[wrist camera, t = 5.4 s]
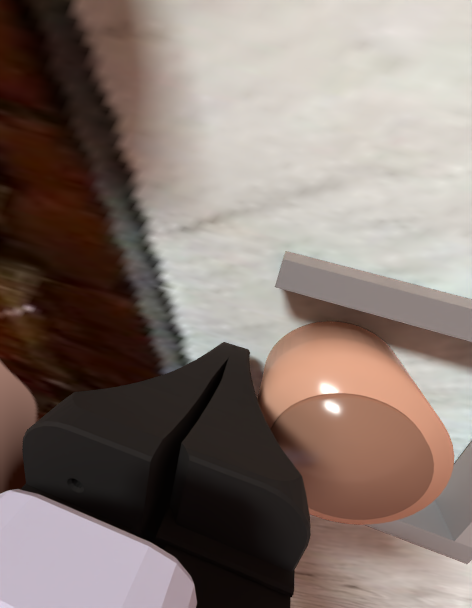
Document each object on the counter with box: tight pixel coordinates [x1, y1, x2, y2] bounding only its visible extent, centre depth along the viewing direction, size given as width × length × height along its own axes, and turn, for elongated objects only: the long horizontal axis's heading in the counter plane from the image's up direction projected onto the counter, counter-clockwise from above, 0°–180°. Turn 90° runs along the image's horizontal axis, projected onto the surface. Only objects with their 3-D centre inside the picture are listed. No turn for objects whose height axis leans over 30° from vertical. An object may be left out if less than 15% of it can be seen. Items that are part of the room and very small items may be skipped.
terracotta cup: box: [257, 321, 454, 525], centre depth 10 cm, size 6×6×4 cm
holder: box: [275, 251, 472, 564], centre depth 11 cm, size 10×11×2 cm
